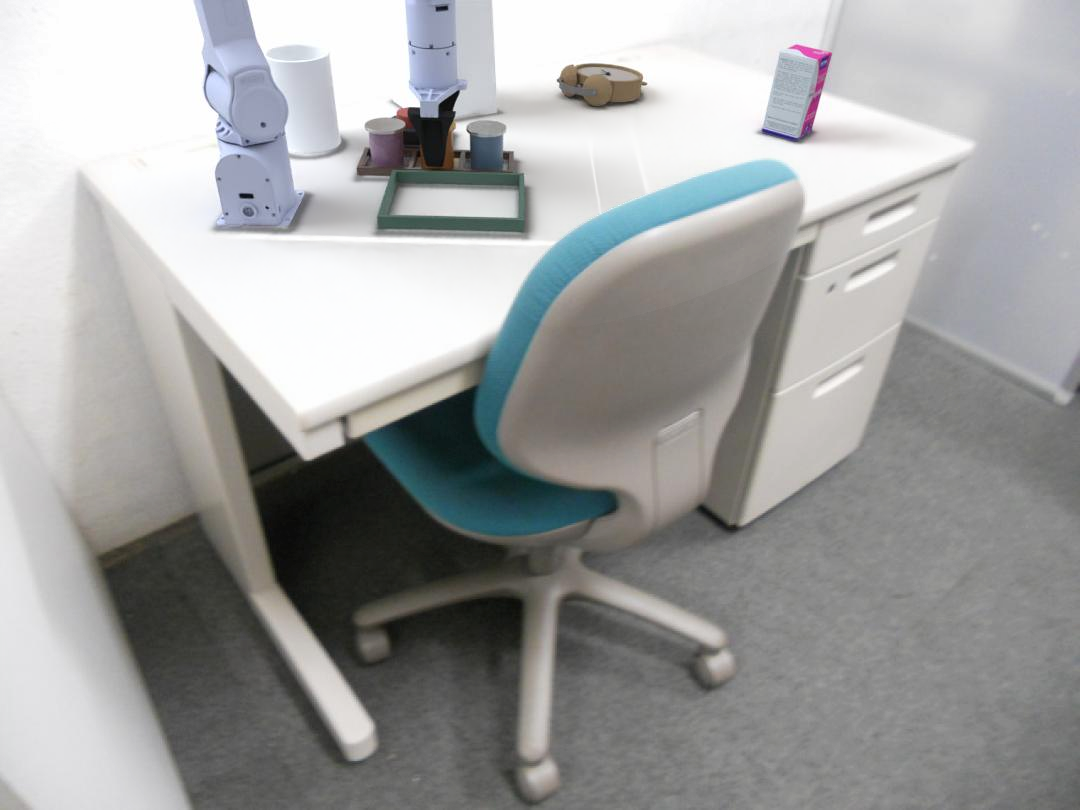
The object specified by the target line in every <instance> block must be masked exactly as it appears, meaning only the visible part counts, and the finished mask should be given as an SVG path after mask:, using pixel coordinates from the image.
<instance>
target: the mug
mask: <svg viewBox="0 0 1080 810" xmlns="http://www.w3.org/2000/svg"><path fill="white" fill-rule="evenodd" d="M263 54H264V56H265V58H266V60H267V62H268V64H269V66H270V70H271V74H272V78H273V80H274V82H275V84H276V85H277V87H278V88H279V89H280V90H281V92H282V93H283V94H284V96H285V98H286V101H287V104H288V111H289V113H288V119H287V123H286V125H285V133H286V140H287V146H288V152H289V153H292V154H302V155H303V154H306V155H307V154H318V153H324V152H327V151H331V150H333V149H335V148H337V147H338V146H340V145H341V143H342V138H341V135H340V129H339V122H338V115H337V114H338V113H337V106H336V105H337V104H336V97H335V91H334V89H335V88H334V82H333V81H334V80H333V72H332V63H331V56H330V51H329V49H328V48H326V47H323V46H320V45H317V44H316V45H315V44H307V43H293V44H292V43H291V44H283V45H278V46H274V47H271V48H269V49H267V50H265V51H264V52H263Z"/></svg>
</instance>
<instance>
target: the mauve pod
mask: <svg viewBox="0 0 1080 810" xmlns="http://www.w3.org/2000/svg"><path fill="white" fill-rule="evenodd" d="M405 127H406V125H405V122H404V121H402V120H400V119H396V118H391V117H377V118H373V119H372V118H371V119H369V120H367V121H366V122H365V123H364V129H365V131H366V132H368V139H369V147H370V151H371V156H370V161H371V166H372V167H405V166H406V160H405V159H406V157H404V143H403V130H404V129H405Z"/></svg>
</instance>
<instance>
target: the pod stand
mask: <svg viewBox="0 0 1080 810" xmlns="http://www.w3.org/2000/svg"><path fill="white" fill-rule="evenodd" d="M370 157H371V151H370V146H367V147H366V146H365V147H364V149H363V151H362V153H361V156H360V159H359V161H358V163H357V166H356V175H357V176H375V177H377V176H378V177H379V176H380V177H390V175H391V172H392V170H424V171H463V172H502V173H514V164H515V163H514V162H515V161H514V160H515V151H514V150H503V161H504V160H506V161H508V169H503V170H489V169H471V168H465V167H466V160H467V159H468V160H470V149H454V167H453V168H452V169H450V168H422V167H421V153H420V149H411V148H404V157H405V158H410V159H409V161H408V165H407V167H405V166H404V167H372V165H371V166H369V165H368V161H369V158H370ZM367 165H368V166H367Z"/></svg>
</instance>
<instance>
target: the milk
mask: <svg viewBox="0 0 1080 810" xmlns="http://www.w3.org/2000/svg"><path fill="white" fill-rule="evenodd" d="M389 2H390V3H389V4H390V6H389V7H390V38H391V39H390V41H391V43H390V44H391V46H390V47H391V75H392V76H391V77H392V79H391V83H392V102H393V103H395V104H397V105H398V106H400V107H401V108H406V107H420V102H419V101H418V99H417V98H416V97H415V95H414V94H413V93H412V92H411V90H410V89H409V84H408V81H409V79H410V73H409V56H408V41H407V25H406V9H405V0H389ZM455 7H456V43H457V79H464V80H467V89H466V90H460V93H459V96H458V98H457V100H456V102H455V105H454V108H453V111H456V114H455V118H456V117H461V116H466V115H467V116H468V115H491V114H497V113H498V97H497V95H498V94H497V75H496V56H495V55H496V54H495V53H496V52H495V34H494V32H495V31H494V15H493V13H494V12H493V0H455Z"/></svg>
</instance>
